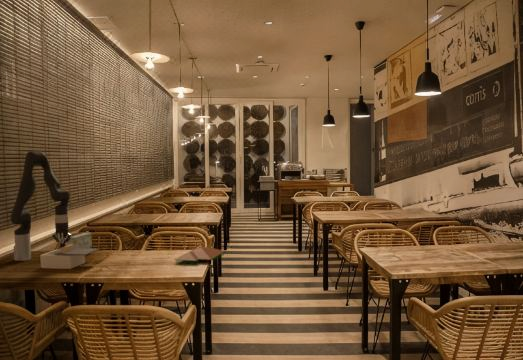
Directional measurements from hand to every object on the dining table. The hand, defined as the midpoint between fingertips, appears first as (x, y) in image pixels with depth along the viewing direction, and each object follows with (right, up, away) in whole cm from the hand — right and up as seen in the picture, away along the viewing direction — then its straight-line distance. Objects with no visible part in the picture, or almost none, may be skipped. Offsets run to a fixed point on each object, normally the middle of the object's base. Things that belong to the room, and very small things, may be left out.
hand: (62, 249), depth 290 cm
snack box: (+1, -9, +25) cm, 27 cm away
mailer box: (0, -10, +1) cm, 10 cm away
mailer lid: (+10, -2, -1) cm, 10 cm away
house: (+85, -9, +11) cm, 86 cm away
